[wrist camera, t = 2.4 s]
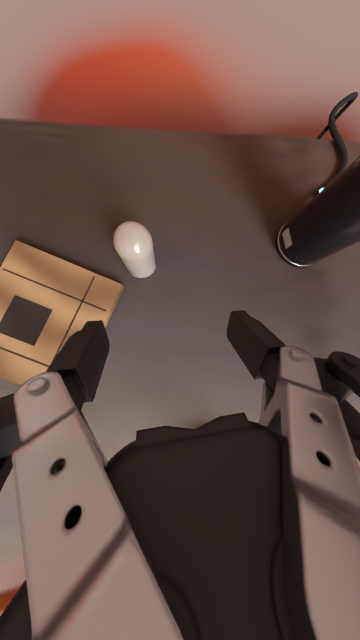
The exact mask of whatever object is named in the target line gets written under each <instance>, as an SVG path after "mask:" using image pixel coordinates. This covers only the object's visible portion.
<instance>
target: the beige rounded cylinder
mask: <svg viewBox="0 0 360 640" xmlns="http://www.w3.org/2000/svg"><path fill="white" fill-rule="evenodd" d="M113 243H114V247H115V250H116V252H117V253H118V255H119V257H120V258H121V260H122V261H123V263H124V265H125V266H126V268H127V270H128V271H129V272H130V274H132V275H133V276H135V277H138V278H145V277H148V276H150V275H151V274H152V273H153V272H154V270H155V268H156V259H155V253H154V246H153V240H152V237H151V234H150V233H149V231H148V230H147V229H146V227H144V226H143V225H142V224H140V223H138V222H135V221H126V222H123V223H122V224H120V225H119V226H118V227H117V228H116V230H115V232H114V236H113Z"/></svg>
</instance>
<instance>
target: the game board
mask: <svg viewBox="0 0 360 640" xmlns="http://www.w3.org/2000/svg"><path fill="white" fill-rule="evenodd" d="M123 289H124V286H123V285H122V284H120V283H118V282H115V281H113V280H110V279H108V278H106V277H103V276H101V275H98V274H96V273H94V272H91V271H89V270H86V269H84V268H82V267H79V266H77V265H74V264H72V263H70V262H67V261H65V260H62V259H60V258H58V257H55V256H53V255H50V254H48V253H46V252H43V251H41V250H38V249H36V248H34V247H31V246H29V245H26V244H24V243H22V242H19V241H17V240H16V241H15V242H14V244H13V246H12V248H11V249H10V251H9V253H8V255H7V257H6V258H5V260H4V262H3V264H2V265H1V267H0V378H1V379H4V380H6V381H9V382H12V383H14V384H17V385H20V386H21V385H22V384H23V383H24V382H26V381H27V380H28V379H30V378H32V377H34V376H36V375H38V374H41V373H44V372H46V370H47V369H48V367H49V366H50V364H51V363H52V361H53V360H54V359H55V357H56V356H57V354H58V353H59V351H61V348H62V347H63V346H64V345H65V343H66V341H67V340H68V338H69V337H70V336H71V335H73V334H74V333H75V332H76V331H79V330H82V328H83V327H84V325H85V323H86V322H87V321H99V320H102V321H103V323H104V326H105V328H106V325H107V323H108V321H109V319H110V317H111V315H112V312H113V310H114V308H115V306H116V304H117V302H118V299H119V297H120V295H121V293H122V291H123Z"/></svg>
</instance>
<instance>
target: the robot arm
mask: <svg viewBox="0 0 360 640" xmlns="http://www.w3.org/2000/svg"><path fill="white" fill-rule="evenodd" d="M357 96H358V92H353V93H351V94H350V95H348V96H347V97H345V98H344V99H342V100H341V101H340V102H339V103H338V104H337V105H336V106H335V107H334V108H333V110H332V112H331V113H330V116H329V121H328V125H327V126H326V127H325V129H324V130H323V131H322V132H321V134H320V135H319V136H318V137H317V138H316V139H321V138H322V136H323V135H324V134H325V133H326V131H327V130H328V129H329V131H330V133H331V136H332V138H333V140H334V142H335V144H336V146H337V148H338V151H339V153H340V157H341V166H340V169H339V171H338V172H337V174H336V175H335V176H334V177H333V178H332V179H331V180H330V181H328V182H327V183H326V184H325V185H324V186H322V187H321V188H320V189H319V190H318V192H317V193H316V195H315V197H314V198H313V199H312V200H311V201H310V202H309V203H308V204H306V205H305V206H304V207H303V208H302V209H301V210H300V211H299V212H298V213H297V214H296V215H295V216H293V217H292V218H291V220H290V221H288V222H287V223H286V224H284V225H283V226H282V227H281V228H280V230H279V232H278V234H277V237H276V246H277V250H278V252H279V254H280V256H281V257H282V258H283V259H284V260H285V261H286V262H287V263H289V264H290V265H292V266H295V267H307V266H310V265H312V264H314V263H316V262H317V261H319V260H321V259H323V258H325V257H328V256H330V255H332V254H334V253H336V252H338V251H340V250H342V249H344V248H347V247H349V246H351V245H353V244H355V243H357V242H359V241H360V156H359V157H358V158H357V159H356V160H355V161H354V162H353V163H352V164H351V165H350V166H349V167H347V168H346V165H347V159H348V156H347V150H346V147H345V144H344V142H343V140H342V138H341V136H340V134H339V132H338V130H337V128H336V125H335V121H336V120H337V119H338V118H339V117H340V116H341V114H342V113H343V112H344V111H345V110H346V109H347V108H348V107H349V106H350V105H351V104H352V103H353V101H354V100H355V99H356V98H357ZM345 103H346V104H345ZM344 104H345V106H343V105H344ZM342 106H343V108H342V109H341V110H340V111H339V112H338V113H337V114H336V112H337V111H338V109H339V108H340V107H342ZM335 114H336V115H335ZM345 168H346V169H345ZM227 338H228V340H229V341H230V343H231V344H232V346H233V348H234V349H235V351H236V352H237V354H238V355H239V357H240V358H241V360H242V361H243V363H244V364H245V366H246V367H247V369H248V370H249V372H250V373H251V375H252V376H253V378H254V379H262V378H263V379H264V380H265V382H264V385H263V395H262V406H261V415H260V419H259V422H258V423H255V422H251V421H248V419H247V417H246V415H245V413H238V414H232V415H226V416H220V417H218V418H216V419H214V420H212V421H210V422H208V423H206V424H204V425H202V426H201V427H199V428H196V429H187V428H179V427H170V426H162V427H156V428H150V429H144V430H138V431H137V435H136V440H135V441H133V442H131V443H130V444H128V445H127V446H125V447H124V448H122V449H121V450H120V451H119V452H117V453H116V454H115V455H114V456H113V457H112V458H111V459H110V461H109V462H108V461H107V459H106V457H105V455H104V453H103V451H102V450H101V448H100V446H99V444H98V442H97V440H96V438H95V436H94V434H93V432H92V431H91V429H90V427H89V425H88V423H87V421H86V419H85V417H84V415H83V413H82V411H81V409H82V406H83V403H85V402H92V401H93V400H94V397H95V393H96V390H97V387H98V384H99V381H100V378H101V374H102V371H103V368H104V365H105V362H106V358H107V355H108V352H109V340H108V337H107V333H106V330H105V326H104V323H103V321H102V320H99V321H87V322H86V323H85V325H84V327H83V328H82V330H79V331H76V332H75V333H74V334H73V335H71V336H70V337H69V338H68V340H67V341H66V343H65V345H64V346H63V347H62V348H61V351H59V353H58V354H57V356H56V357H55V359H54V360H53V361H52V363H51V364H50V366H49V367H48V369H47V370H46V372H44V373H41V374H38V375H36V376H34V377H32V378H30V379H28V380H27V381H26V382H24V383H23V384H22V385H21V386H20V387H19V388H18V389H17V390H16V392H15V393H13V394H11V395H8V396H5V397H2V398H0V491H1V489H2V487H3V485H4V483H5V481H6V479H7V477H8V475H9V473H10V471H11V469H12V467H13V472H14V480H15V489H16V497H17V506H18V514H19V522H20V531H21V539H22V548H23V556H24V565H25V573H26V580H25V581H24V583H23V584H22V586H21V587H20V589H19V590H18V592H17V593H16V594H15V596H14V597H13V599H12V600H11V602H10V603H9V605H8V606H7V607H6V609H5V610H4V612H3V613H2V615H1V616H0V640H360V467H359V464H358V461H357V459H358V460H359V461H360V413H359V412H358V411H357V410H356V409H355V408H354V407H353V406H352V405H351V404H349V403H348V402H347V401H346V400H345V399H346V398H347V397H348V396H349V395H350V394H351V393H352V392H354V393H355V394H356V395H358V396H359V397H360V359H359V358H358V357H355V356H353V355H351V354H348V353H344V352H332V353H331V354H330V356H329V357H328V358H327V359H321V358H314V357H312V356H311V355H310V354H309V353H308V352H306V351H305V350H303V349H301V348H298V347H295V346H289V345H287V346H286V345H285V344H284V343H283V342H282V341H281V340H279V339H278V338H277V337H276V336H275V335H274V334H273V333H272V332H271V331H269V329H267V328H266V327H265V326H264V325H263V324H262V323H261V322H260V321H258V320H256V319H254V318H252V317H251V316H250V315H248V314H247V313H246V312H245V311H232V312H231V314H230V318H229V323H228V327H227ZM356 457H357V458H356Z"/></svg>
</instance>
